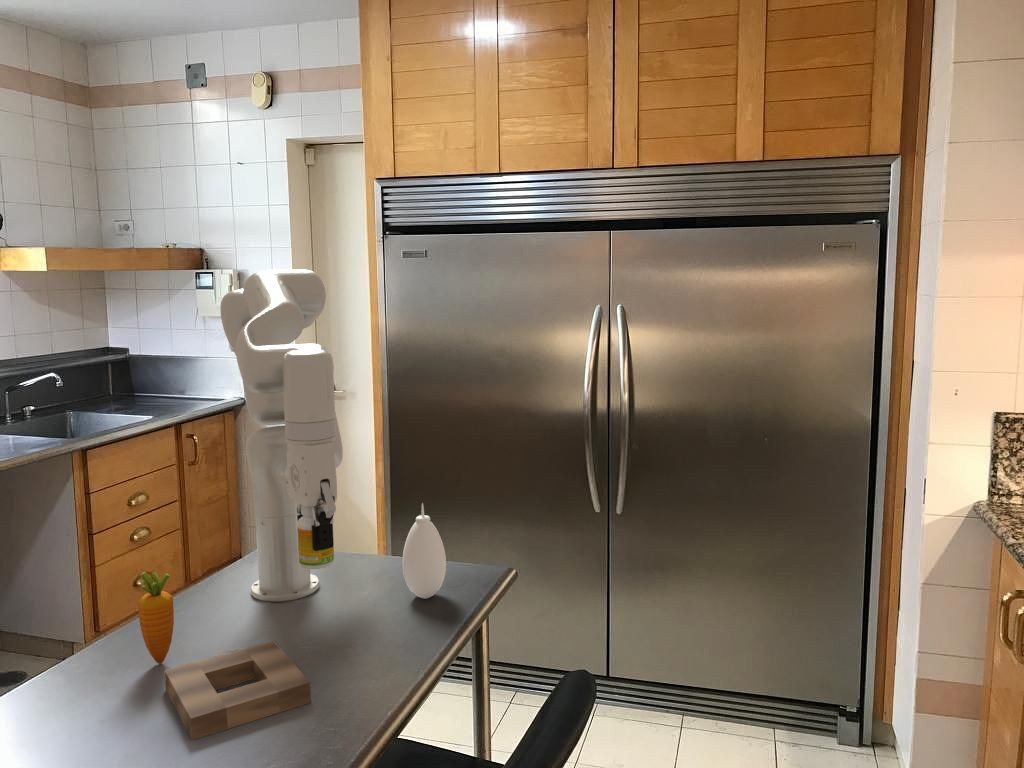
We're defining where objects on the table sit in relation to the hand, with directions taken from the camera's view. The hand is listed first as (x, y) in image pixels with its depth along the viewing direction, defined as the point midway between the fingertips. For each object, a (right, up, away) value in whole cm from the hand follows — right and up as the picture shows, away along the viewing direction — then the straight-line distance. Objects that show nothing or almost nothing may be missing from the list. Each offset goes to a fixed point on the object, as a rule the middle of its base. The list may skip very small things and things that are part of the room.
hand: (315, 542), depth 128 cm
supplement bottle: (0, -4, +1) cm, 4 cm away
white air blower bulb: (+15, -15, +24) cm, 32 cm away
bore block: (-9, -20, -11) cm, 24 cm away
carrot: (-24, -19, -1) cm, 30 cm away
